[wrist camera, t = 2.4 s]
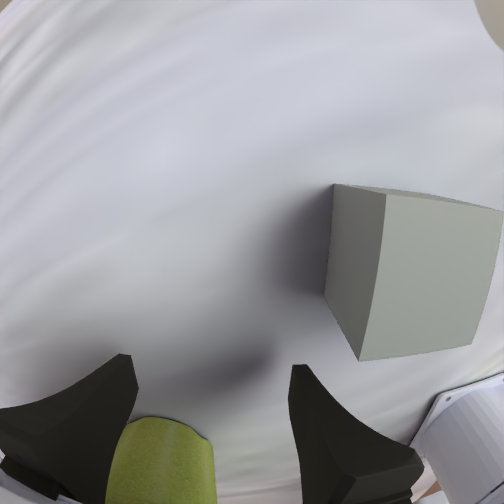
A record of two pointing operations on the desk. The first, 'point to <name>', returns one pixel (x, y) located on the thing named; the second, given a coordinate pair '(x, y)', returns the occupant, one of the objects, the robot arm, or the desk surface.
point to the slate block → (408, 269)
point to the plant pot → (161, 465)
